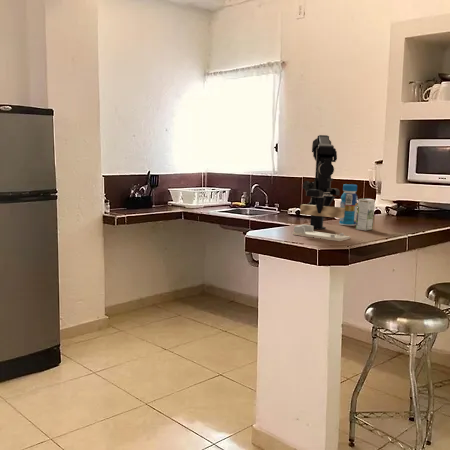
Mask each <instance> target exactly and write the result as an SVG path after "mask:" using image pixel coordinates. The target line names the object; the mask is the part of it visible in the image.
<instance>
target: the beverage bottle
mask: <svg viewBox="0 0 450 450" xmlns="http://www.w3.org/2000/svg"><path fill="white" fill-rule="evenodd" d="M342 191H343V193H342V194H341V196H340V203H339V204H340V207H342V208H345V212H344V217H343V218H339V223H338V224H339V225H340V226H347V227H353V226H355V227H356V219H357V208H358V199H359V198H358V194H357V191H358V185H357V184H353V183H351V184H350V183H349V184H347V183H345V184H343V186H342Z"/></svg>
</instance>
